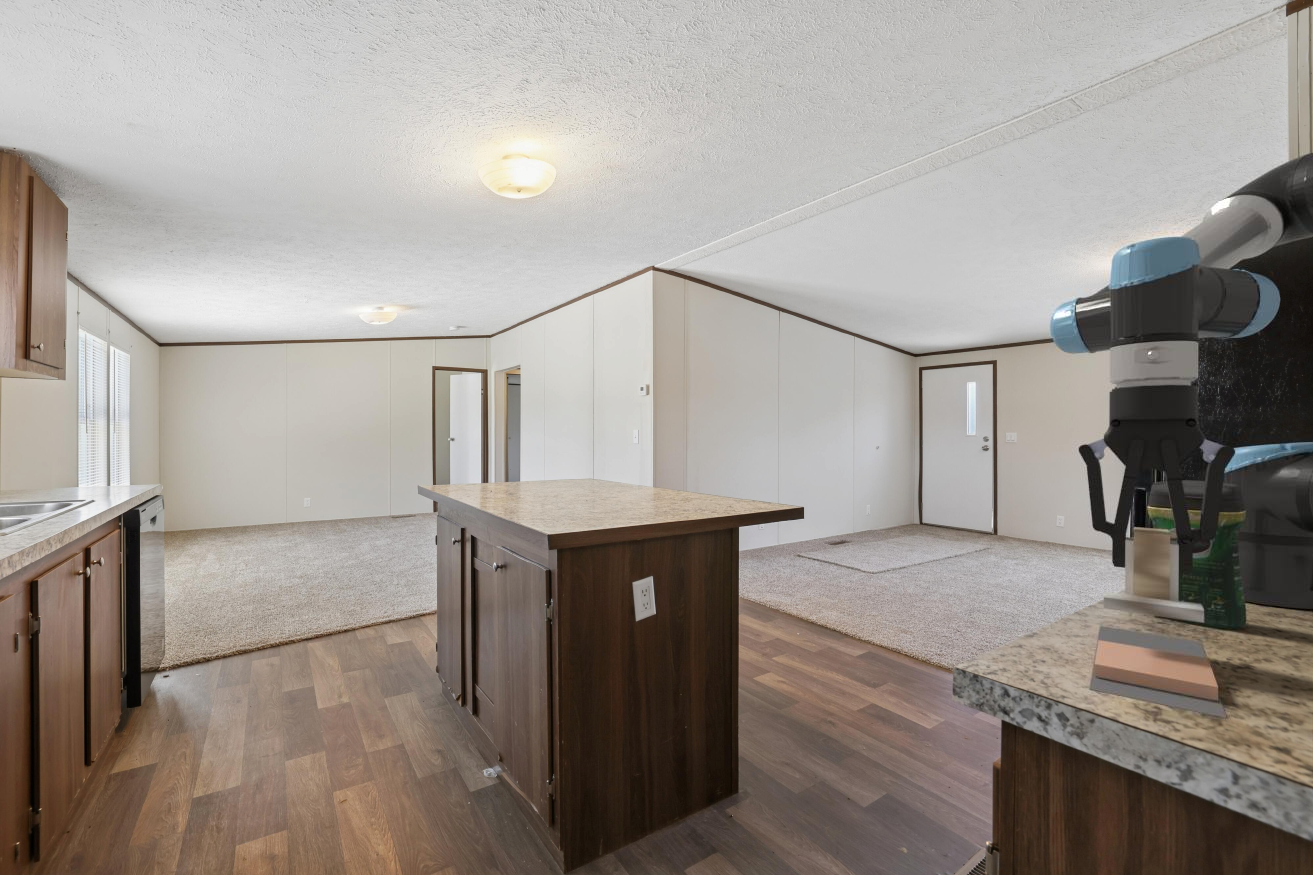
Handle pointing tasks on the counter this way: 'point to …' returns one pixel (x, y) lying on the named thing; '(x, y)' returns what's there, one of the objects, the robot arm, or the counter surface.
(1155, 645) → the mat
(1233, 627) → the coffee jar
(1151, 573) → the upright block with backplate
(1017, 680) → the counter surface
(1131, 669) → the tile
